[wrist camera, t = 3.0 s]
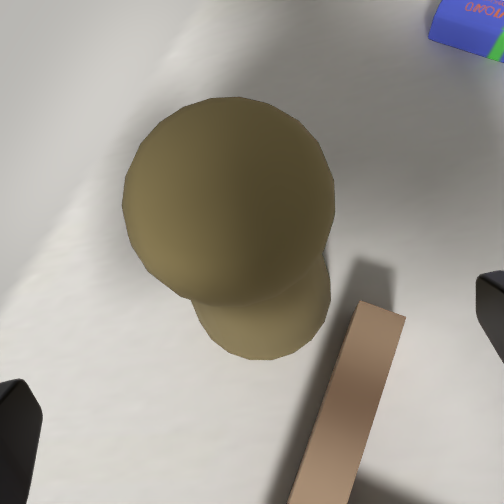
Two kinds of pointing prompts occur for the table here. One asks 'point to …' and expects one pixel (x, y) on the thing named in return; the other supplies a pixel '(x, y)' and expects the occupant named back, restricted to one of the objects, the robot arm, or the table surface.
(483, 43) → the eraser
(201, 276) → the cork
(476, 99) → the table surface
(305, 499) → the notched board
